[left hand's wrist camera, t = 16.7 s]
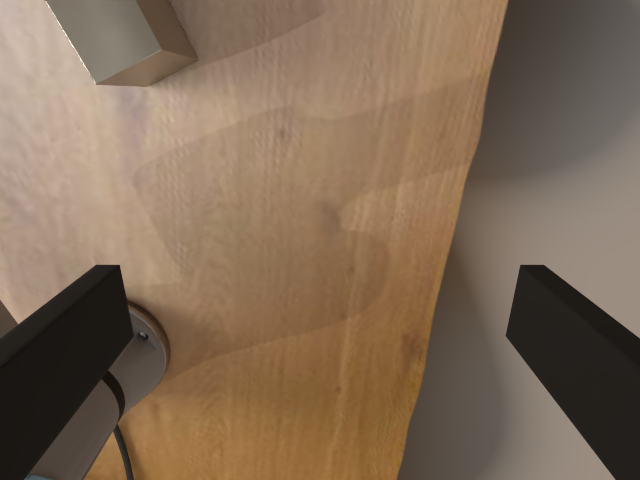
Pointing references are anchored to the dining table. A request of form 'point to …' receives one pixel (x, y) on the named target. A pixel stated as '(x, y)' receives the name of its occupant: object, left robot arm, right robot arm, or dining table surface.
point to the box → (125, 39)
